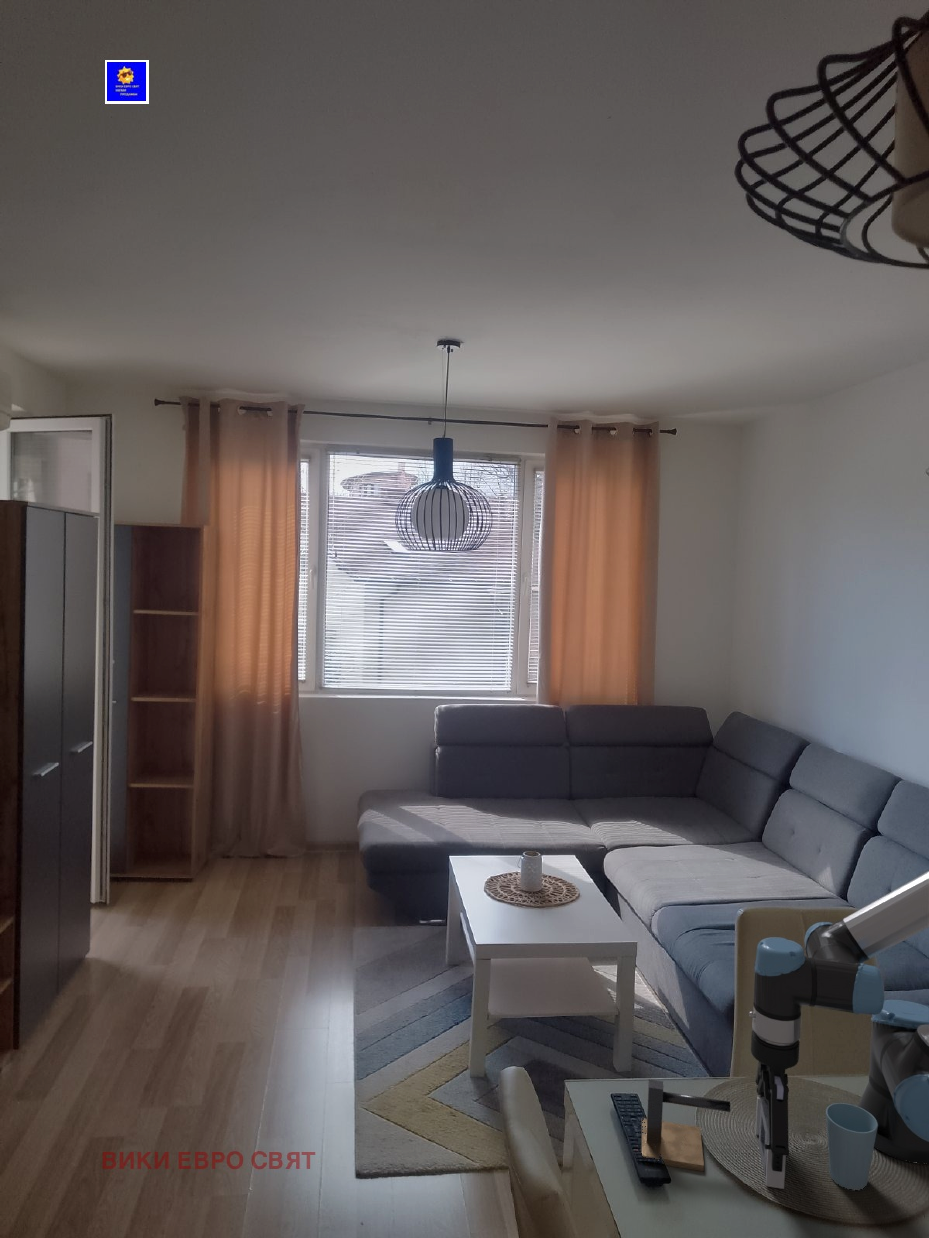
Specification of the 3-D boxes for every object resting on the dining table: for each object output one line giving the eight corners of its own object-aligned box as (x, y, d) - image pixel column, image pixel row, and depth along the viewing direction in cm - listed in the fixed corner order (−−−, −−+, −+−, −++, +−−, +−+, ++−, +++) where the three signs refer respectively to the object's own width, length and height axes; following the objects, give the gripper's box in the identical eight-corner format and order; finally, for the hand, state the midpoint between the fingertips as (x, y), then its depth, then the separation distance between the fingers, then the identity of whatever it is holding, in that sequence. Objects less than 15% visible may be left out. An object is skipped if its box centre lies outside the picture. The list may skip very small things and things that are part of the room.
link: (773, 1146, 147) (776, 1101, 147) (781, 1178, 139) (783, 1130, 139) (758, 1143, 148) (760, 1098, 147) (764, 1175, 140) (767, 1128, 139)
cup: (885, 1188, 138) (888, 1125, 137) (850, 1201, 134) (853, 1137, 134) (847, 1158, 144) (849, 1098, 144) (813, 1170, 141) (815, 1109, 141)
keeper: (724, 1136, 149) (727, 1077, 149) (730, 1175, 139) (733, 1113, 139) (641, 1123, 152) (643, 1066, 151) (641, 1160, 142) (643, 1099, 142)
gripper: (743, 996, 155) (737, 1110, 156) (761, 1072, 131) (754, 1207, 132) (787, 1001, 153) (781, 1117, 155) (813, 1080, 129) (806, 1216, 131)
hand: (768, 1159), depth 143 cm, fingers open, 12 cm apart
